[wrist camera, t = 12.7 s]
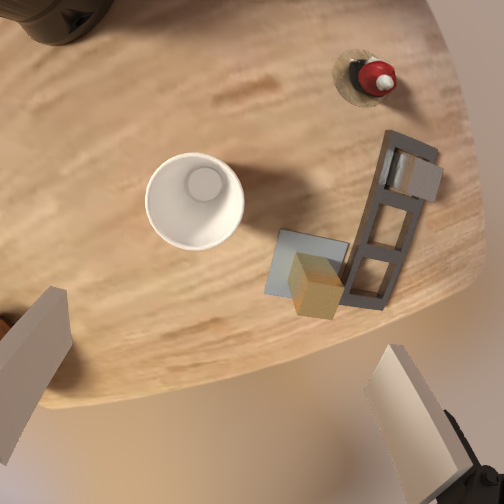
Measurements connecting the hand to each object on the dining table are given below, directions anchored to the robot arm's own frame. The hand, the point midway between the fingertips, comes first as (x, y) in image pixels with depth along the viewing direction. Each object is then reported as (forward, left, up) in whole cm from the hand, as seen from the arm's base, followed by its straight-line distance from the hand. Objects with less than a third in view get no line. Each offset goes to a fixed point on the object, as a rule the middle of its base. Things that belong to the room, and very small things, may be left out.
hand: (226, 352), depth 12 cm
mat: (+9, +12, -32) cm, 35 cm away
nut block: (+9, +12, -31) cm, 35 cm away
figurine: (-19, +13, -32) cm, 39 cm away
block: (-8, +22, -32) cm, 39 cm away
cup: (0, -4, -32) cm, 32 cm away
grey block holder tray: (0, +22, -32) cm, 39 cm away
